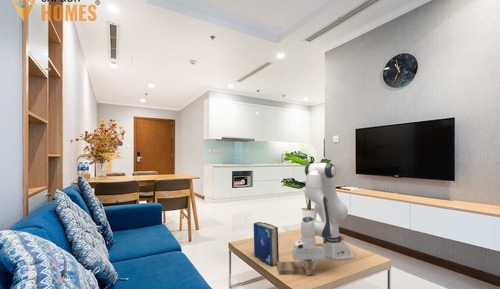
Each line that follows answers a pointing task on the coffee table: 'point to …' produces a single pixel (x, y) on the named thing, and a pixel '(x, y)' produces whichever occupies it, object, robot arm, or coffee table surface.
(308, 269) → the block
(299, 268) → the board
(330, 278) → the coffee table surface
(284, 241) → the coffee table surface
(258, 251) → the book
